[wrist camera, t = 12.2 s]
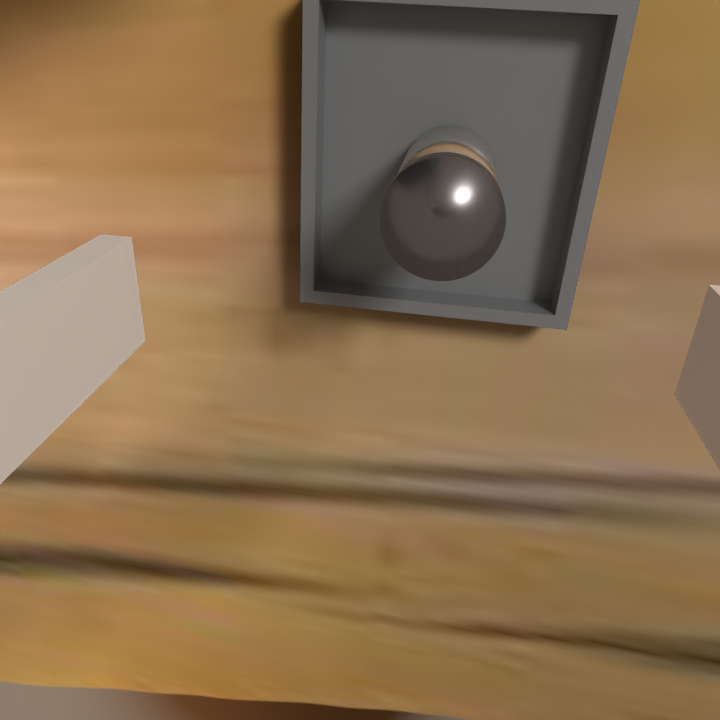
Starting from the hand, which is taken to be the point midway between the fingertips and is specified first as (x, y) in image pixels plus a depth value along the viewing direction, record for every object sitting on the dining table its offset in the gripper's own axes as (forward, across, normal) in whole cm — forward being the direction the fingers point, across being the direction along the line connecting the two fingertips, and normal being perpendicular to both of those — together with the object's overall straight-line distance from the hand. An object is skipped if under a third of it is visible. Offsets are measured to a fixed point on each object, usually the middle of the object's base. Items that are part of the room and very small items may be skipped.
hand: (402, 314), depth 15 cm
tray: (+23, +1, -1) cm, 23 cm away
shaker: (+23, +1, -1) cm, 23 cm away
